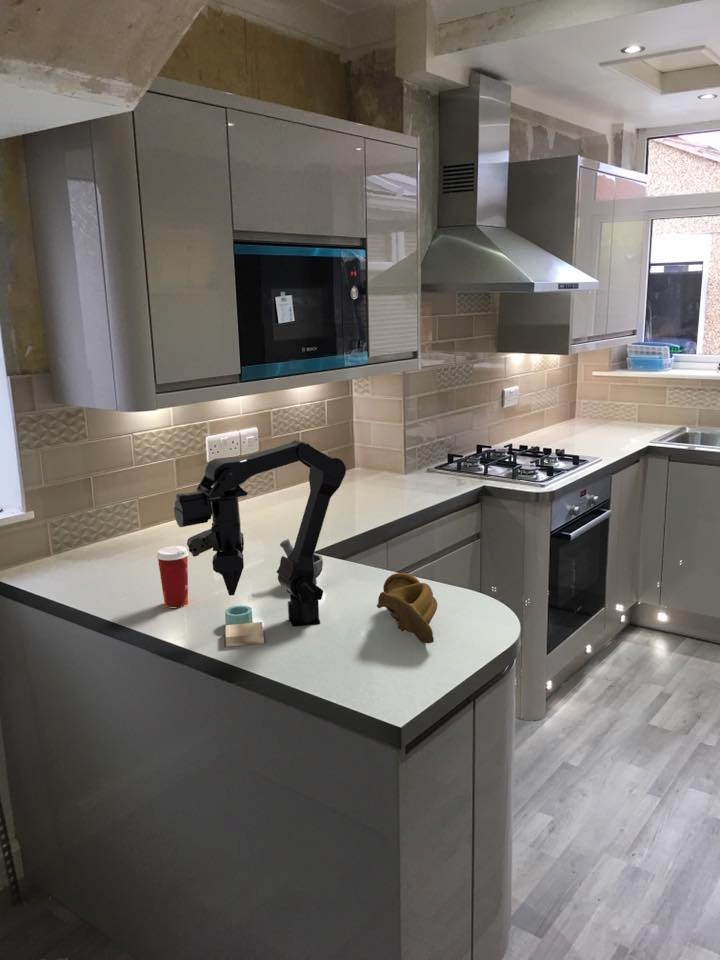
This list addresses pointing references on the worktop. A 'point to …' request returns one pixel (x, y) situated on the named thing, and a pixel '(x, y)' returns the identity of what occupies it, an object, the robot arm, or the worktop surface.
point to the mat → (243, 645)
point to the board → (244, 634)
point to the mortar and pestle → (316, 558)
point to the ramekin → (238, 615)
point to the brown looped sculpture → (409, 604)
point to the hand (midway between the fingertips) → (232, 587)
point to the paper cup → (174, 575)
